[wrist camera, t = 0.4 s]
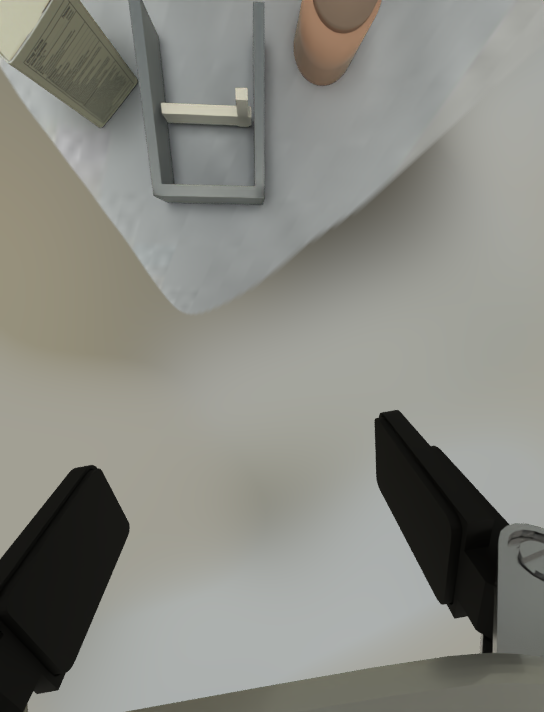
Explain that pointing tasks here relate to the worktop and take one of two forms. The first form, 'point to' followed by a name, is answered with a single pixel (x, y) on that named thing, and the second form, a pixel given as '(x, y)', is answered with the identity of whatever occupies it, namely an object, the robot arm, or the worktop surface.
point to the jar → (330, 36)
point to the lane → (158, 126)
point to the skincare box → (65, 55)
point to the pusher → (211, 112)
